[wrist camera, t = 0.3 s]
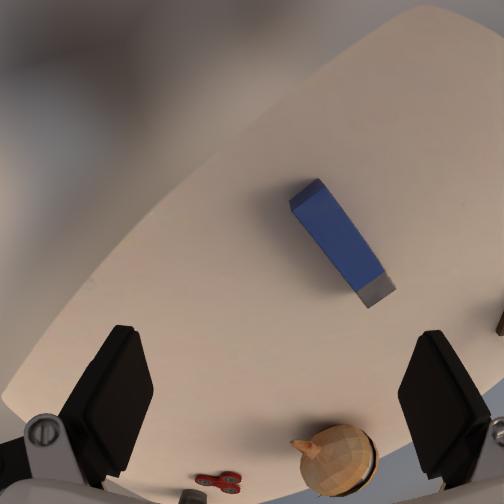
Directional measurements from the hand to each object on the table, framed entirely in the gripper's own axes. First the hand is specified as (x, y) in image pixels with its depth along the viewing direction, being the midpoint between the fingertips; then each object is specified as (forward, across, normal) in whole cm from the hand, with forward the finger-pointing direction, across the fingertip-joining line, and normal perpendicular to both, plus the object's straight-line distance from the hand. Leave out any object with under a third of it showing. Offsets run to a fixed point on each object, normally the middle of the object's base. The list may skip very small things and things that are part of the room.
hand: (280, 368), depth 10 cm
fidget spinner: (+16, +6, +43) cm, 47 cm away
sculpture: (+16, -8, +26) cm, 32 cm away
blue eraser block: (+16, -5, +1) cm, 17 cm away
